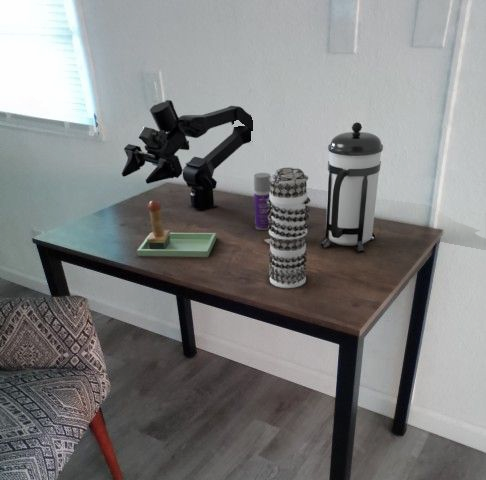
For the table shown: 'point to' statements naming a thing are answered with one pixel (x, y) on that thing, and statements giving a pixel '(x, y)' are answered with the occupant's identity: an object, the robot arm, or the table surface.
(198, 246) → the tray
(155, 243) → the wooden rubber stamp
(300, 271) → the decorative candle
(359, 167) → the coffee press
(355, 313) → the table surface
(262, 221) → the container
